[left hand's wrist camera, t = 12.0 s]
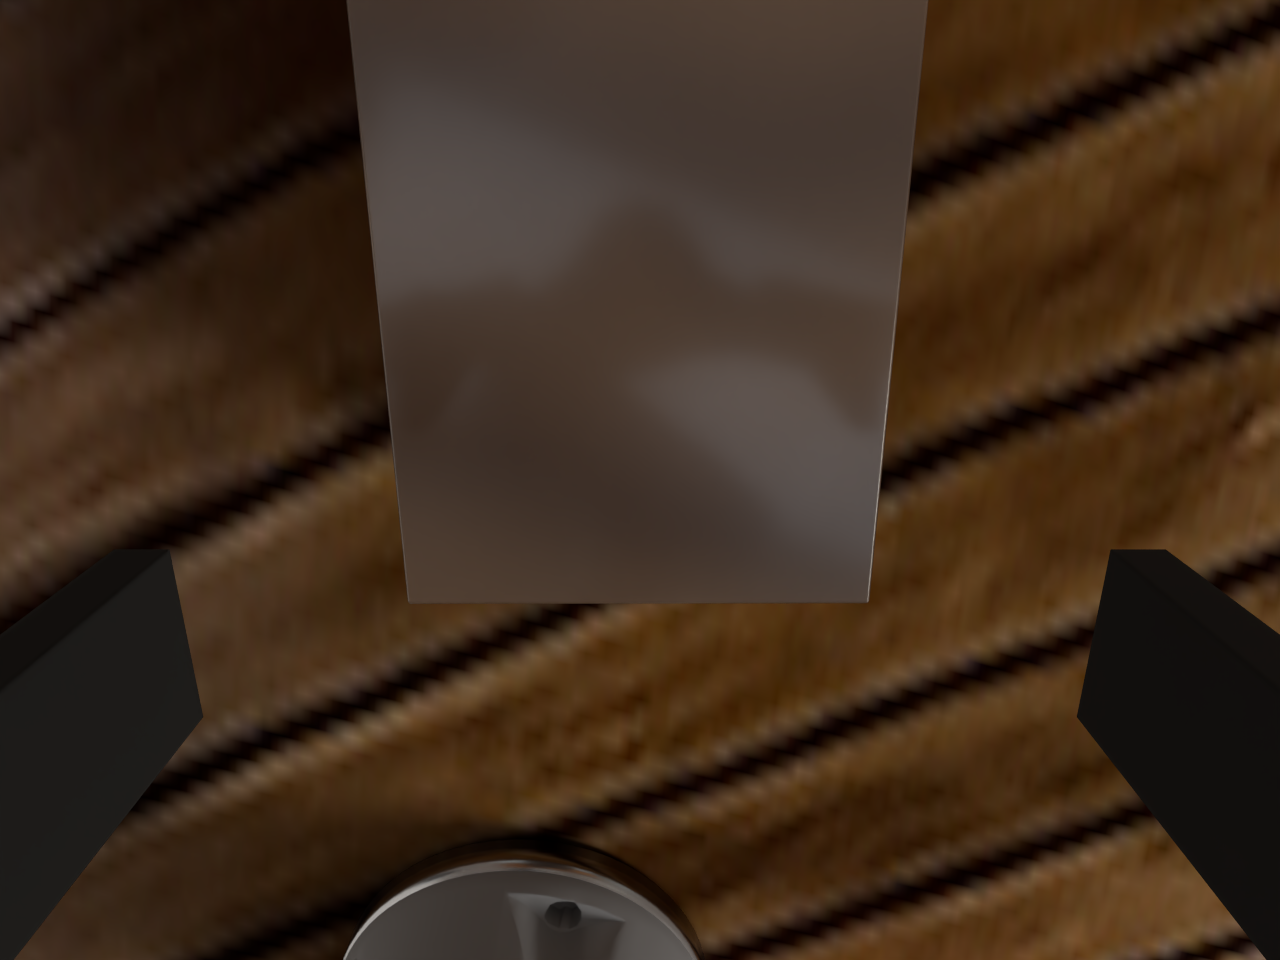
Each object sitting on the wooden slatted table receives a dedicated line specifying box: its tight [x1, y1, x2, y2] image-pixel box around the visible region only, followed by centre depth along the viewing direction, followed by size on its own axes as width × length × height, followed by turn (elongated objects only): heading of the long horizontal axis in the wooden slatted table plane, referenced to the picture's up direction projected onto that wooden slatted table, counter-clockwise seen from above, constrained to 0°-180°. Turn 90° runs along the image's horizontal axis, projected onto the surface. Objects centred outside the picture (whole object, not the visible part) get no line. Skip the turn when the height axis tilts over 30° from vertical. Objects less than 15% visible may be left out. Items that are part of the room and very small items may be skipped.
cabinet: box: [346, 0, 928, 604], centre depth 21 cm, size 22×11×10 cm, turn 0°
